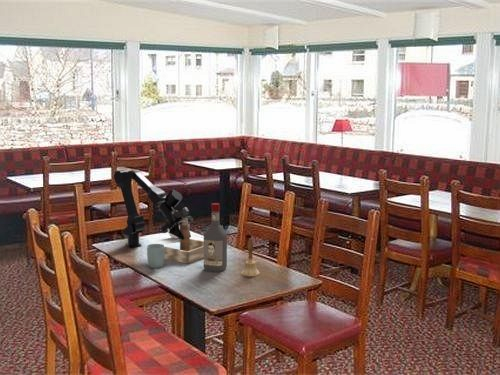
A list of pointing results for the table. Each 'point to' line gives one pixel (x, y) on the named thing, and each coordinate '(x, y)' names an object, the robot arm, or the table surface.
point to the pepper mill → (185, 235)
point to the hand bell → (250, 262)
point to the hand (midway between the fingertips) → (187, 238)
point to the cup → (155, 255)
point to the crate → (186, 252)
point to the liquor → (215, 243)
